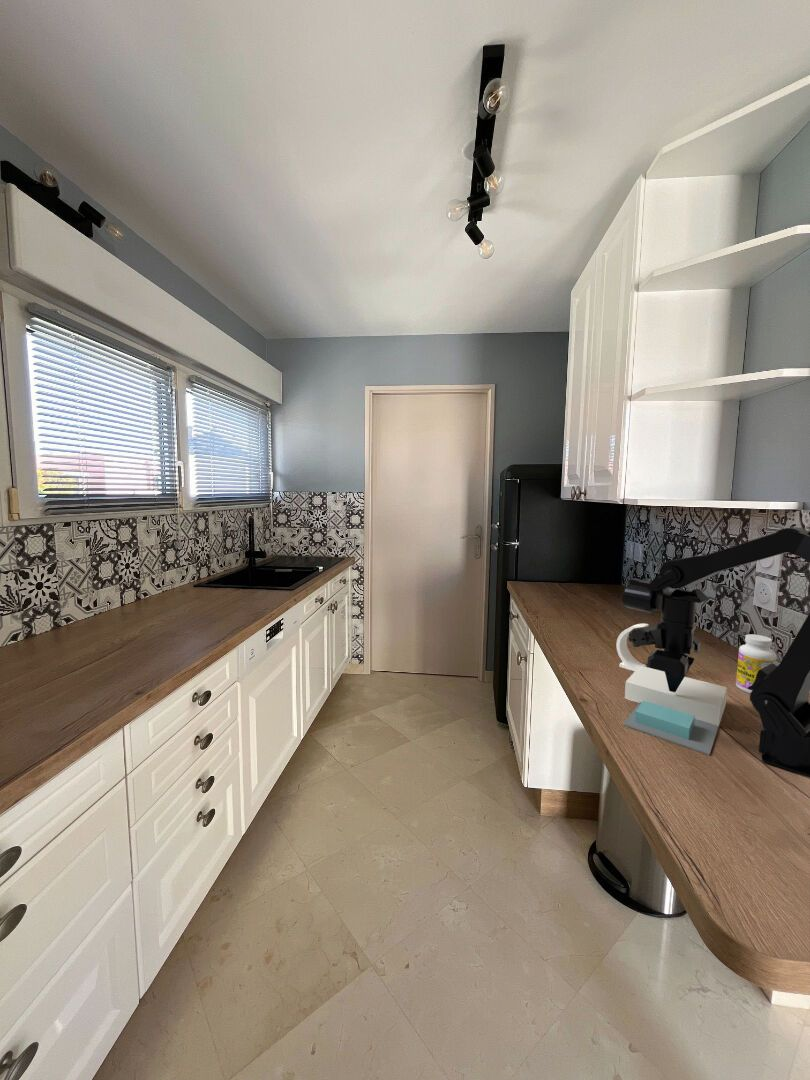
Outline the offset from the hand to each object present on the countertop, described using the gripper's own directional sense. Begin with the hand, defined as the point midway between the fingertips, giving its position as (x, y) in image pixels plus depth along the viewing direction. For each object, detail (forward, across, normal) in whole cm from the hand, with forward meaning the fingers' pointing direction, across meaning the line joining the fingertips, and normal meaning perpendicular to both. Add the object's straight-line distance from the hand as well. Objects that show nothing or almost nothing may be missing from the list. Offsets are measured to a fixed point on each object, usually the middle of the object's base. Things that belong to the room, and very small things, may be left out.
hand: (672, 691), depth 86 cm
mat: (+5, +6, +1) cm, 8 cm away
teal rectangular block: (+2, +6, 0) cm, 7 cm away
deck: (+5, -6, 0) cm, 8 cm away
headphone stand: (+5, -20, -13) cm, 24 cm away
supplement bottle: (+5, -25, +12) cm, 28 cm away
